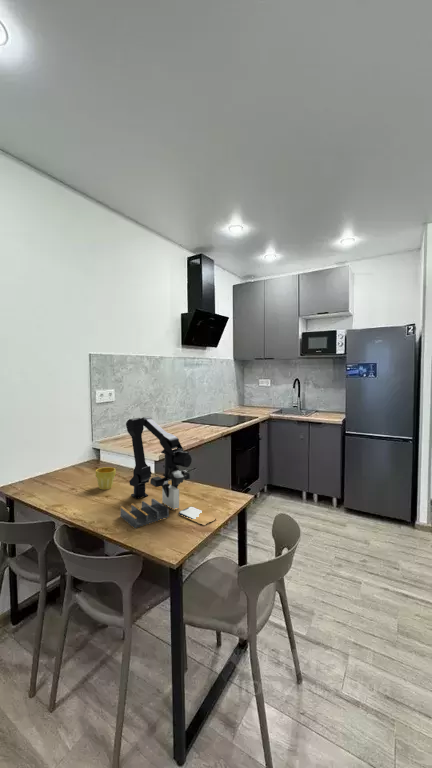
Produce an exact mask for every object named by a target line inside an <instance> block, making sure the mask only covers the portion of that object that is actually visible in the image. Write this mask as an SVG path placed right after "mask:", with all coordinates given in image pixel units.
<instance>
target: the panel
mask: <svg viewBox="0 0 432 768" xmlns="http://www.w3.org/2000/svg"><path fill="white" fill-rule="evenodd" d="M161 487H162V486H161ZM161 489H162V490H161V491H162V493H161V495H162V497H161V499H162V501H161V504H163V503H164V504H163V505H165V504H166V505H167V506H166V505H165V506H166V507H168V506H169V507H171V508H173V509H175V508H179V509H180V489H179V488H178V487H177V488H176V487H174V486H172V484H170V486H169V497H167V496H166V494H165V492H164V490H163V487H162V488H161ZM169 507H168V508H169ZM171 508H170V509H171ZM173 509H172V510H173Z"/></svg>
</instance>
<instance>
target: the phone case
mask: <svg viewBox="0 0 432 768" xmlns="http://www.w3.org/2000/svg"><path fill="white" fill-rule="evenodd" d="M202 511H203V510H201V509H198V508H196V507H194V506H188V507H186V508H185V509H182V510H180V511H178V515H179V514H180V515H183V516H185V517H188V518H191V519H196V517H199V514H200V513H202ZM180 515H179V516H180Z"/></svg>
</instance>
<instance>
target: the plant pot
mask: <svg viewBox="0 0 432 768" xmlns="http://www.w3.org/2000/svg"><path fill="white" fill-rule="evenodd" d="M116 472H117V471H116V468H115V467H112V466H110V467H109V466H106V467H100V468H97V469H96V470H95V478H96V480H97V485H98V489H99V490H105V491H106V490H109V489H112V488H113V483H114V479H115V476H116V474H117V473H116Z"/></svg>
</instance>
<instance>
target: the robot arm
mask: <svg viewBox="0 0 432 768" xmlns="http://www.w3.org/2000/svg"><path fill="white" fill-rule="evenodd" d="M125 427H126V430H127V433H128V435H130V437H131V442H132V449H133V456H134V464H135V465H134V467H133V468H134V469H133V475H132V477H131V479H129V482H128V483H129V486H132V487H133V493H131V494H130V495H131V497H133V498H135V499H136V500H137V499H141V498H145V497H148V496H149V494H147V493H146V484H148V483H149V484H150V485H151V486H154V488H159V487H163V490H164V492H165V494H166V496H167V497H169V486H170V485H172V486H174V487H176V488H178V487H179V485H180V484H181V483H184V480H190V479H191V475H190V472H188V471H187V470H186V469H184V470H180V467H183V468H189V467H190V466H191V465H192V456H191V455H190V453H189V451H185V450H184V448H183V446H182V444H181V442H180V438H178V437H177V436H176V435H175V434H173V433H169V432H167V431H166V430H165V429H163V428H162V427H161V426H160V425H159V424H158V423H157V422H155V420H153V418H152V416H142V417H134V418H129V419H127V421H126V423H125ZM144 427H145V429H147V430H148V431H149V432H150V433H151V434H152V435H153V436H155V438H157V439H158V440H159V444H160V446H161V447H162V448H163V450H161V452H160V453H161V454H164V464H163V465H162V468H163V469H164V473H163V474H162V477H161V476H159V475H157V476H154V477H152V470H151V469H152V468H151V466H150V465H148V464H147V463H146V459H145V451H144V450H145V449H144V442H143V438H142V437H143V436H142V435H143V431H144ZM169 481H170V482H171V484H170V483H169Z"/></svg>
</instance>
